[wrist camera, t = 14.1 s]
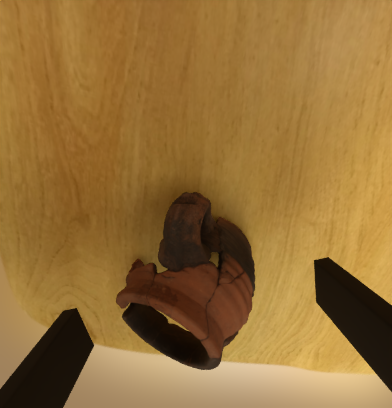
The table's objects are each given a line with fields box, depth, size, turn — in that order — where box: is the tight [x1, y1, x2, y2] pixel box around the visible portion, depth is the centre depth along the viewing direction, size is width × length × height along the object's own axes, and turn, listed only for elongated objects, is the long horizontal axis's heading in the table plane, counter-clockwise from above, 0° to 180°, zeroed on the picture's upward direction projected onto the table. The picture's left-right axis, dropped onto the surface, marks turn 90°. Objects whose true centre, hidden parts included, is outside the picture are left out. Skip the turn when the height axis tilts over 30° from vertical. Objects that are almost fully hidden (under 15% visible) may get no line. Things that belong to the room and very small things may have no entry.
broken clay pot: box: [116, 192, 255, 370], centre depth 14 cm, size 12×10×8 cm
